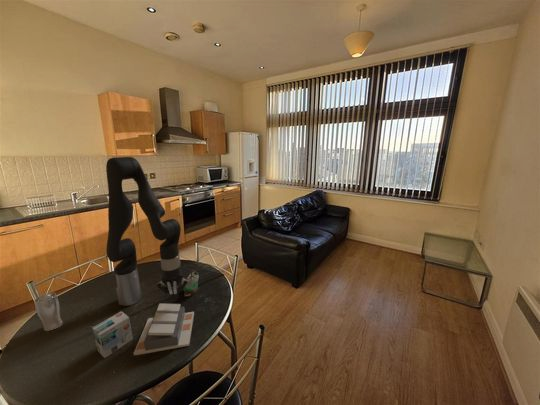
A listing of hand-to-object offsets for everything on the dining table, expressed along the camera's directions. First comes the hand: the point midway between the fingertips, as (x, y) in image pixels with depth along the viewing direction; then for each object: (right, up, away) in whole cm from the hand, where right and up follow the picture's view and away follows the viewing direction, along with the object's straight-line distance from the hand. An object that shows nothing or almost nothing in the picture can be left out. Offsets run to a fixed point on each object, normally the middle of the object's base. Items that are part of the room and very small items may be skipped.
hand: (174, 299), depth 98 cm
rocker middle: (-1, -6, -5) cm, 8 cm away
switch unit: (-1, -12, -4) cm, 13 cm away
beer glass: (-53, -12, -1) cm, 55 cm away
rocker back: (-3, -4, 0) cm, 5 cm away
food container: (+1, -6, +23) cm, 23 cm away
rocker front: (0, -7, -11) cm, 13 cm away
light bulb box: (-20, -14, -10) cm, 26 cm away
